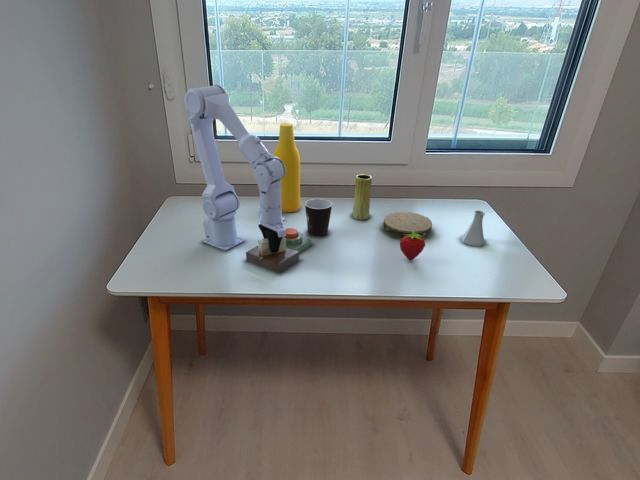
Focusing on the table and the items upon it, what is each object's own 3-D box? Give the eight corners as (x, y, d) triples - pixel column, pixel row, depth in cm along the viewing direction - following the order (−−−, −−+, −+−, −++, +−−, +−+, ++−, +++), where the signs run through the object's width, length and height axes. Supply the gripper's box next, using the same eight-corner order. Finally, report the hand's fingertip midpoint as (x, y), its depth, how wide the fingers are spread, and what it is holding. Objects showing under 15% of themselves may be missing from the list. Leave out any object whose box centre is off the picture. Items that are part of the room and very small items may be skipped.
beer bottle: (292, 214, 159) (292, 129, 142) (270, 209, 162) (266, 125, 145) (304, 206, 166) (305, 123, 149) (282, 201, 169) (281, 120, 152)
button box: (269, 245, 139) (269, 235, 137) (285, 236, 144) (285, 226, 142) (295, 254, 134) (295, 244, 132) (311, 245, 140) (311, 234, 138)
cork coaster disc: (373, 227, 152) (374, 219, 150) (404, 216, 160) (405, 208, 159) (409, 244, 142) (411, 236, 140) (440, 231, 151) (442, 223, 149)
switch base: (243, 262, 129) (243, 252, 128) (269, 247, 138) (269, 238, 136) (276, 275, 124) (275, 265, 122) (301, 259, 132) (301, 249, 130)
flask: (485, 239, 147) (493, 210, 141) (482, 248, 141) (490, 218, 135) (463, 234, 149) (469, 206, 143) (459, 243, 143) (465, 214, 138)
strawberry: (394, 255, 135) (399, 225, 130) (418, 254, 136) (424, 224, 131) (400, 265, 131) (405, 234, 125) (425, 264, 132) (430, 233, 126)
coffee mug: (328, 239, 143) (329, 210, 137) (301, 236, 144) (302, 207, 139) (334, 225, 152) (335, 196, 147) (309, 222, 154) (310, 194, 148)
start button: (280, 236, 137) (280, 231, 136) (289, 231, 140) (289, 226, 139) (291, 240, 135) (291, 235, 134) (300, 235, 138) (300, 230, 137)
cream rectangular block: (262, 256, 127) (261, 242, 124) (258, 252, 128) (258, 239, 126) (286, 250, 130) (285, 237, 127) (282, 247, 131) (282, 234, 129)
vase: (372, 215, 160) (376, 176, 152) (364, 221, 156) (367, 181, 148) (357, 211, 163) (360, 172, 155) (348, 217, 158) (351, 177, 150)
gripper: (296, 212, 118) (296, 257, 125) (273, 193, 128) (274, 237, 136) (271, 216, 115) (273, 263, 122) (250, 197, 125) (253, 241, 133)
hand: (272, 249), depth 129 cm, fingers closed on cream rectangular block, 2 cm apart
